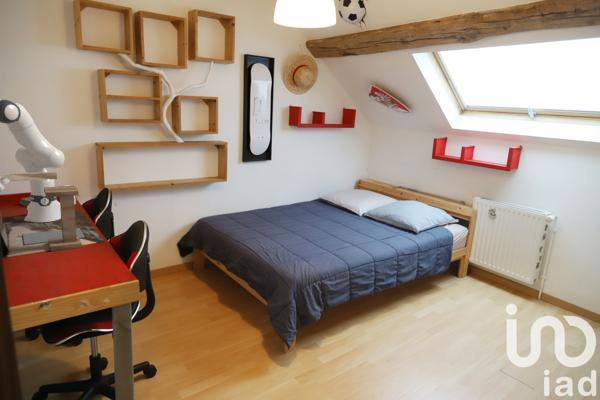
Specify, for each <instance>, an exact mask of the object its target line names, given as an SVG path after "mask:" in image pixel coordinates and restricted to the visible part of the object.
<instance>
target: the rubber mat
mask: <svg viewBox="0 0 600 400" xmlns="http://www.w3.org/2000/svg"><path fill="white" fill-rule="evenodd" d="M76 235H78V237H79V239H80V240H81V239H85V236H84V233H83V232H82V230H81V228H80V227H76ZM22 237H23V242H24V243H23V244H24V246H29V245H31V246H32V245H38V244H39V245H40V244H45V243H46V244H47V243H48V239H52V238H60V237H62V229H59V230H58V229H57V230H47V231H38V232H31V233H30V232H28V233H23V234H22Z"/></svg>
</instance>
